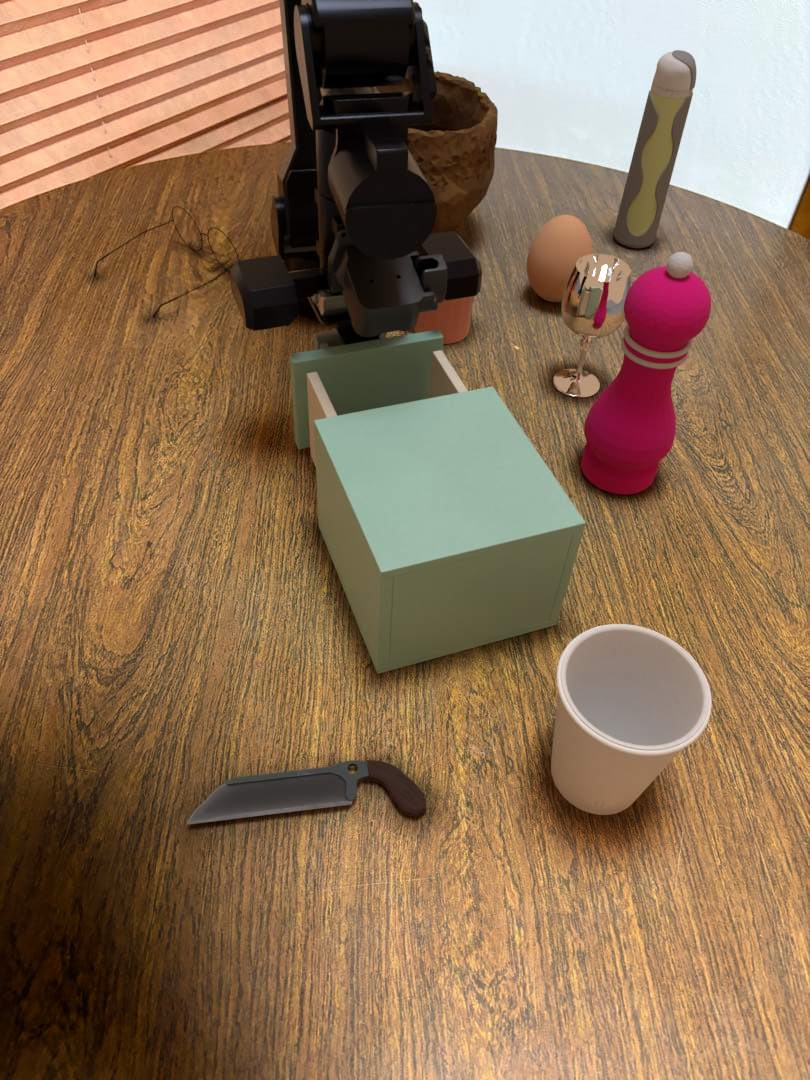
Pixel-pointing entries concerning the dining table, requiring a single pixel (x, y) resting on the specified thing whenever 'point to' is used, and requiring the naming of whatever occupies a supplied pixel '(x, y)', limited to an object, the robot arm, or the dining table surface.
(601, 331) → the wineglass
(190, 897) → the dining table surface
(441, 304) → the cup
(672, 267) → the pepper mill
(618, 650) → the dixie cup
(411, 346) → the drawer
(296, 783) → the knife
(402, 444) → the cabinet
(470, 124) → the bowl
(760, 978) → the dining table surface
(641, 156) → the grey yellow cylinder
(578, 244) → the egg
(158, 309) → the eyeglasses
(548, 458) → the dining table surface
